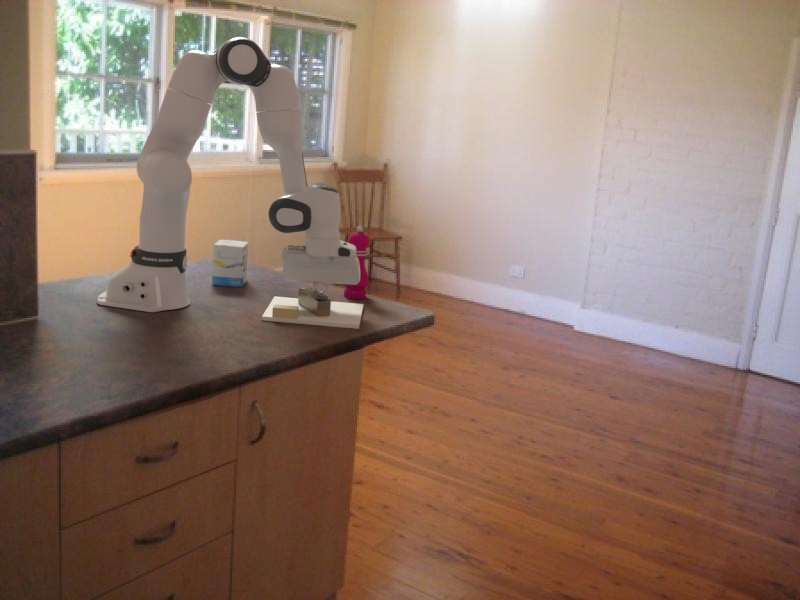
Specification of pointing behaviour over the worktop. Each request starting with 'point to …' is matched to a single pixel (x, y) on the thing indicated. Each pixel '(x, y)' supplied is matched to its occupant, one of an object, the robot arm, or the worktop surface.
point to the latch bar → (314, 301)
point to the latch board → (296, 313)
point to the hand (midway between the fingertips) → (320, 298)
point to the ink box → (230, 263)
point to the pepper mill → (361, 244)
